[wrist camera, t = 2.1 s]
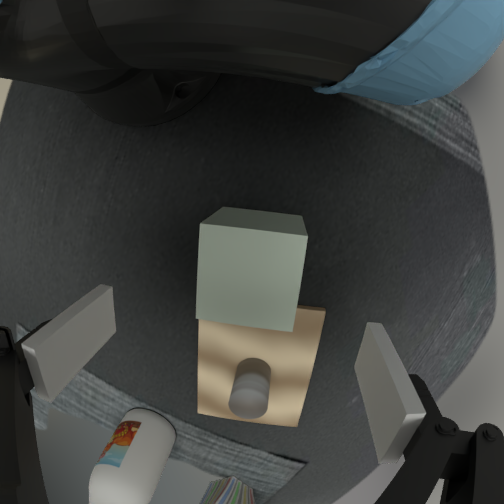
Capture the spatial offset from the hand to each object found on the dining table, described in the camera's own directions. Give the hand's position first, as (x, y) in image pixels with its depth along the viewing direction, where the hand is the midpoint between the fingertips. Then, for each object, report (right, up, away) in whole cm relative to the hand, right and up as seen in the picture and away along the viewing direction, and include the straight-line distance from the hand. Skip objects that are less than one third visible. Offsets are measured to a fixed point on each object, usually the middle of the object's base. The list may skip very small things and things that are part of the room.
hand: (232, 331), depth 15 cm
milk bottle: (-13, -20, +22) cm, 33 cm away
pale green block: (+2, +4, +14) cm, 15 cm away
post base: (+1, -8, +17) cm, 19 cm away
